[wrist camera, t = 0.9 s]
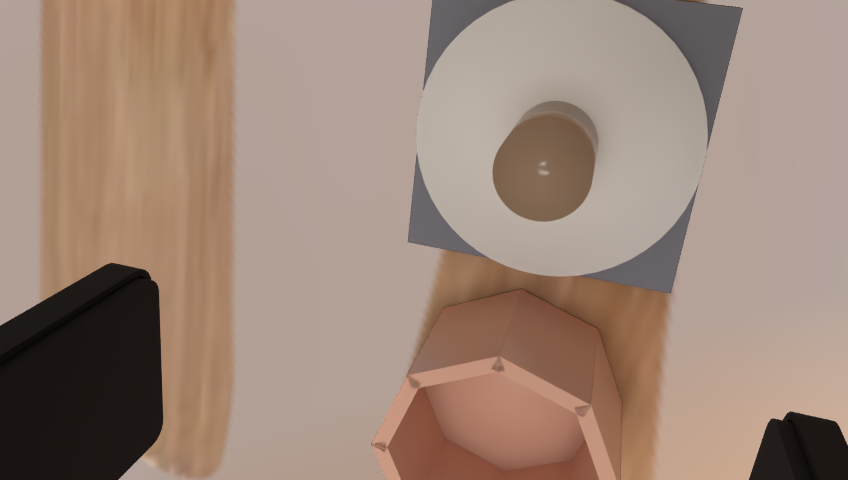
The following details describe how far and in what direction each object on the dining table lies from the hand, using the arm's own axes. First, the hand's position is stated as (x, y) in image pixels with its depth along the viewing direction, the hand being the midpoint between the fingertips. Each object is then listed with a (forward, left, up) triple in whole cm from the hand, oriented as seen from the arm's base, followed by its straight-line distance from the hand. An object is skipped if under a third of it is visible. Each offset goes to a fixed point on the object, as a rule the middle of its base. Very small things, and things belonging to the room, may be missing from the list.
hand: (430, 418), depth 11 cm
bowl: (+5, +10, -20) cm, 23 cm away
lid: (0, 0, -20) cm, 20 cm away
